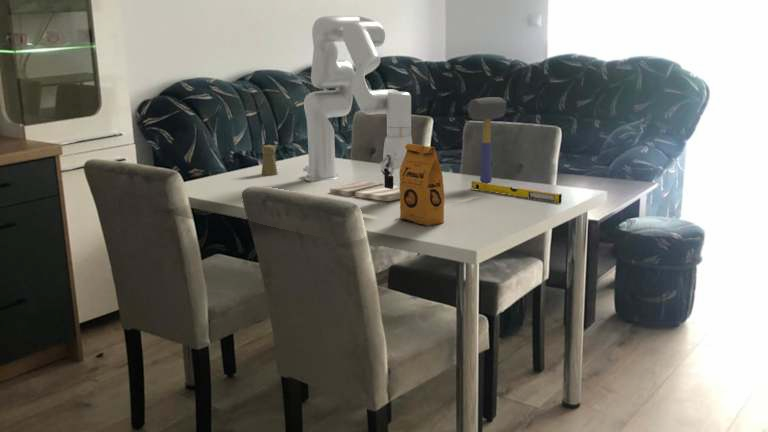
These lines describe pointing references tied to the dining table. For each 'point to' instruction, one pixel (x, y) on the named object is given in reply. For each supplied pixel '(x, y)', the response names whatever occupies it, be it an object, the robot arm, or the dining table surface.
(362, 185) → the floor board
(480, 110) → the rubber mallet
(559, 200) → the spirit level
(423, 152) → the coffee package
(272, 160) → the cork
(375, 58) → the robot arm
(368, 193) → the ash plank
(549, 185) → the dining table surface
